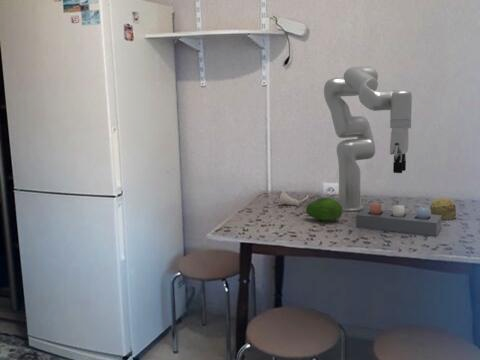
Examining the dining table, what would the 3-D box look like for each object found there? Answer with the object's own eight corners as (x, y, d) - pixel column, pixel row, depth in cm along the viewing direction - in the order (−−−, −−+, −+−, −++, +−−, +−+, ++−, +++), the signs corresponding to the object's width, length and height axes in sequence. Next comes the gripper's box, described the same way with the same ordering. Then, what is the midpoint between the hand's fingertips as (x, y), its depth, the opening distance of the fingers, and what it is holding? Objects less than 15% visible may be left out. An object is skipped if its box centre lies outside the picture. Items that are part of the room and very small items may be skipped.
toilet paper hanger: (297, 213, 230) (301, 197, 228) (277, 207, 233) (281, 191, 232) (308, 204, 252) (312, 190, 250) (289, 199, 255) (293, 185, 253)
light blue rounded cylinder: (415, 222, 186) (415, 209, 185) (417, 219, 190) (418, 206, 189) (427, 223, 184) (427, 210, 183) (429, 220, 188) (430, 207, 187)
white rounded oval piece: (391, 219, 191) (391, 207, 190) (394, 216, 195) (394, 204, 194) (402, 220, 189) (403, 208, 188) (405, 218, 192) (405, 205, 192)
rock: (452, 229, 199) (465, 208, 198) (427, 215, 200) (440, 194, 199) (446, 224, 209) (459, 204, 207) (422, 211, 210) (435, 191, 208)
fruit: (303, 222, 205) (302, 199, 203) (310, 216, 214) (309, 194, 212) (339, 225, 198) (339, 201, 197) (344, 219, 207) (344, 196, 205)
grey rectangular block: (356, 227, 195) (356, 214, 194) (365, 219, 205) (365, 208, 204) (436, 236, 180) (436, 223, 179) (441, 227, 190) (442, 215, 189)
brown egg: (368, 217, 196) (368, 205, 195) (371, 214, 199) (371, 202, 198) (379, 218, 193) (379, 206, 192) (382, 215, 197) (382, 203, 196)
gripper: (395, 122, 194) (394, 167, 197) (384, 125, 180) (383, 174, 183) (415, 122, 190) (414, 168, 194) (405, 126, 176) (404, 176, 179)
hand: (399, 171), depth 188 cm, fingers open, 4 cm apart
